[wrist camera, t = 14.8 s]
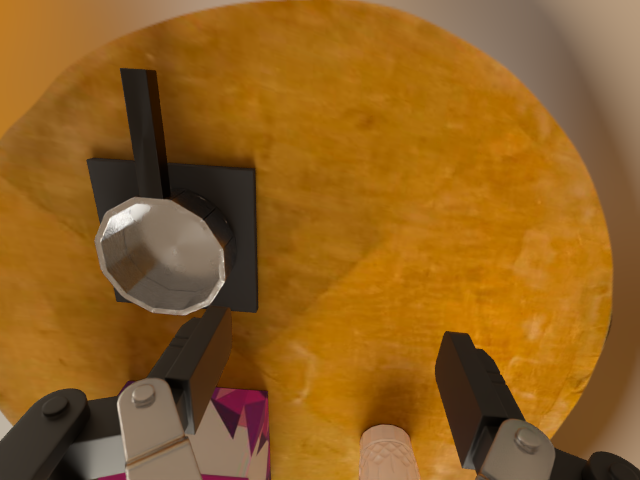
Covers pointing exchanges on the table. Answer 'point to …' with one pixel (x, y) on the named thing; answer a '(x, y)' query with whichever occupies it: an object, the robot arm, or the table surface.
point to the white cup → (387, 455)
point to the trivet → (217, 186)
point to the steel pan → (162, 222)
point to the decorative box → (230, 437)
